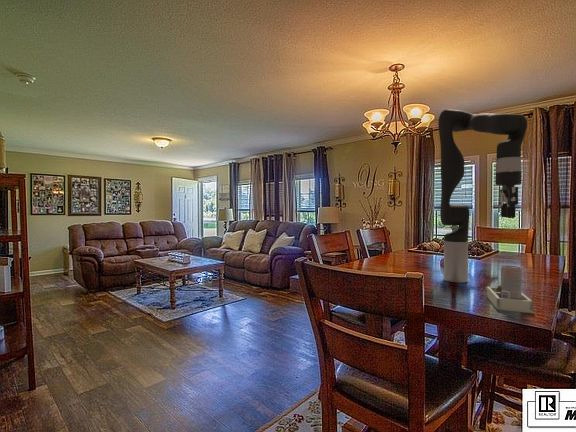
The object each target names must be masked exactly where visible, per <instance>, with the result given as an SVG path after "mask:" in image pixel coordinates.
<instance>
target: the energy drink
mask: <svg viewBox="0 0 576 432" xmlns="http://www.w3.org/2000/svg"><path fill="white" fill-rule="evenodd" d="M522 277H523V271H522V268H521V267H520V266H516V265H501V268H500V285H501V296H500V298H506V299H517V300H521V292H522V285H523V284H522V283H523V282H522V279H523V278H522Z"/></svg>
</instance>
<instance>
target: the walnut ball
mask: <svg viewBox="0 0 576 432" xmlns="http://www.w3.org/2000/svg"><path fill="white" fill-rule="evenodd" d="M496 292H500V293H501V284H499V285H498V286H497V289H496Z"/></svg>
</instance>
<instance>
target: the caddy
mask: <svg viewBox="0 0 576 432" xmlns="http://www.w3.org/2000/svg"><path fill="white" fill-rule="evenodd" d="M497 287H498V286H497ZM497 287H495V286H486V297H487V299H488V300H489V301H490V302H491V304H492V305H493V306H494V307H495V309H496V310H498V311H499V310H500V311H507V312H508V311H509V312H515V313H527V314H533V313H534V301H533V300H532V299H531V298H530V297H528V296H527V295H525V294H524V293H523V292H522V291H521V300H517V299H506V298H500V296H501V293H500V292H496V289H497Z"/></svg>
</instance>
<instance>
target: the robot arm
mask: <svg viewBox="0 0 576 432" xmlns="http://www.w3.org/2000/svg"><path fill="white" fill-rule="evenodd" d="M437 124H438V125H437V127H438V134H439V143H440V181H441V182H440V184H441V191H440V192H441V194H440V195H441V197H440V211H439V212H440V213H439V214H440V216H439V217H440V218H439V219H440V222H441V224H442V225H443V226H457V229H455V230H454V231H451V232H449V233H445V234H444V236H443V280H444V281H446V282H450V283H451V282H452V283H462V284H463V283H464V284H465V283H468V279H469V278H468V277H469V275H468V274H469V271H468V270H469V230H470V229H469V228H470V227H469V226H470V208H469V206H468V205H467V204H461V203H460V204H459V203H458V204H456V203H455V204H454V203H453V204H451V197H452V195H453V193H454V192H455V190H456V188H457V187H458V185H459V183H460V182H461V181H462V179H463V178H464V175H465V158H464V156H463V154H462V152H461V150H460V149H459V148H458V146H457V143H456V142H455V140H454V135H453V133H456V132H457V133H459V132H463V131H474V132H479V133H487V134H492V135H499V136H507V139H506V140H505V141H501V142H499V143H498V144H497V145H496V161H495V181H494V182H495V184H494V185H495V186H500V187H502V188H500V189H498V191H499V195H498V197H499V199H498V200H499V201H498V205H499V206H500V217H502V218H508V219H515V218H516V207H517V206H518V205H519V185H522V182H523V181H522V180H523V179H522V177H523V175H522V172H523V170H522V169H523V163H522V144H523V141H524V139H525V135H526V133H527V128H528V121H527V118H526V116H525V115H523V114H521V113H488V112H487V113H485V112H484V113H478V114H473V113H470V112H467V111H465V110H460V109H444V110H442V111H441V112H440V114H439V118H438V123H437Z"/></svg>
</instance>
